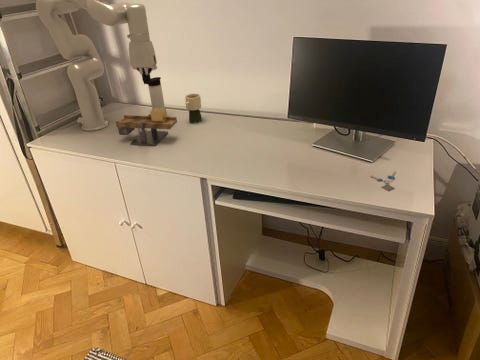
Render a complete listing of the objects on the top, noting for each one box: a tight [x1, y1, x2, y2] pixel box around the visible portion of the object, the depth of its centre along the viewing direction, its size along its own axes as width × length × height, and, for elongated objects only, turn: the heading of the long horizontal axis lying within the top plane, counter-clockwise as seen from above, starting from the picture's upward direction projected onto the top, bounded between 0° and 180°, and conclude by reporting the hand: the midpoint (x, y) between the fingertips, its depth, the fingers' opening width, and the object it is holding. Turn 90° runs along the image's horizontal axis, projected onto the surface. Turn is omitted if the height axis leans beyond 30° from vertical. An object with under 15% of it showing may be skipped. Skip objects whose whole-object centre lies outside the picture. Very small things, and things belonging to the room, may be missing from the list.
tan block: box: [149, 107, 168, 123], centre depth 160 cm, size 5×5×6 cm
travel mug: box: [147, 76, 166, 110], centre depth 186 cm, size 6×7×20 cm
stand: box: [129, 113, 169, 147], centre depth 164 cm, size 12×14×10 cm
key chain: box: [370, 171, 397, 192], centre depth 125 cm, size 14×8×1 cm, turn 158°
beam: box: [115, 114, 178, 136], centre depth 163 cm, size 25×8×6 cm, turn 77°
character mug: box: [184, 93, 203, 123], centre depth 179 cm, size 11×7×13 cm, turn 148°
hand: (147, 83), depth 158 cm, fingers closed
